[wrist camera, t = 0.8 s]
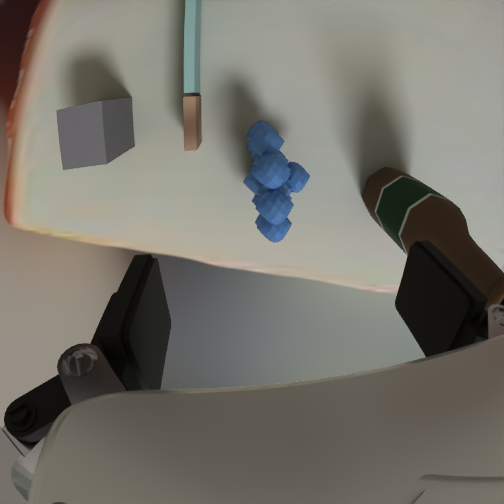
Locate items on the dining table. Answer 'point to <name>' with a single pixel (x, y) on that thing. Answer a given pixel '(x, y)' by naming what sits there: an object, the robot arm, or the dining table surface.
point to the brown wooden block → (192, 122)
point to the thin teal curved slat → (192, 46)
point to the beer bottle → (430, 227)
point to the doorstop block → (95, 132)
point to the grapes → (272, 181)
